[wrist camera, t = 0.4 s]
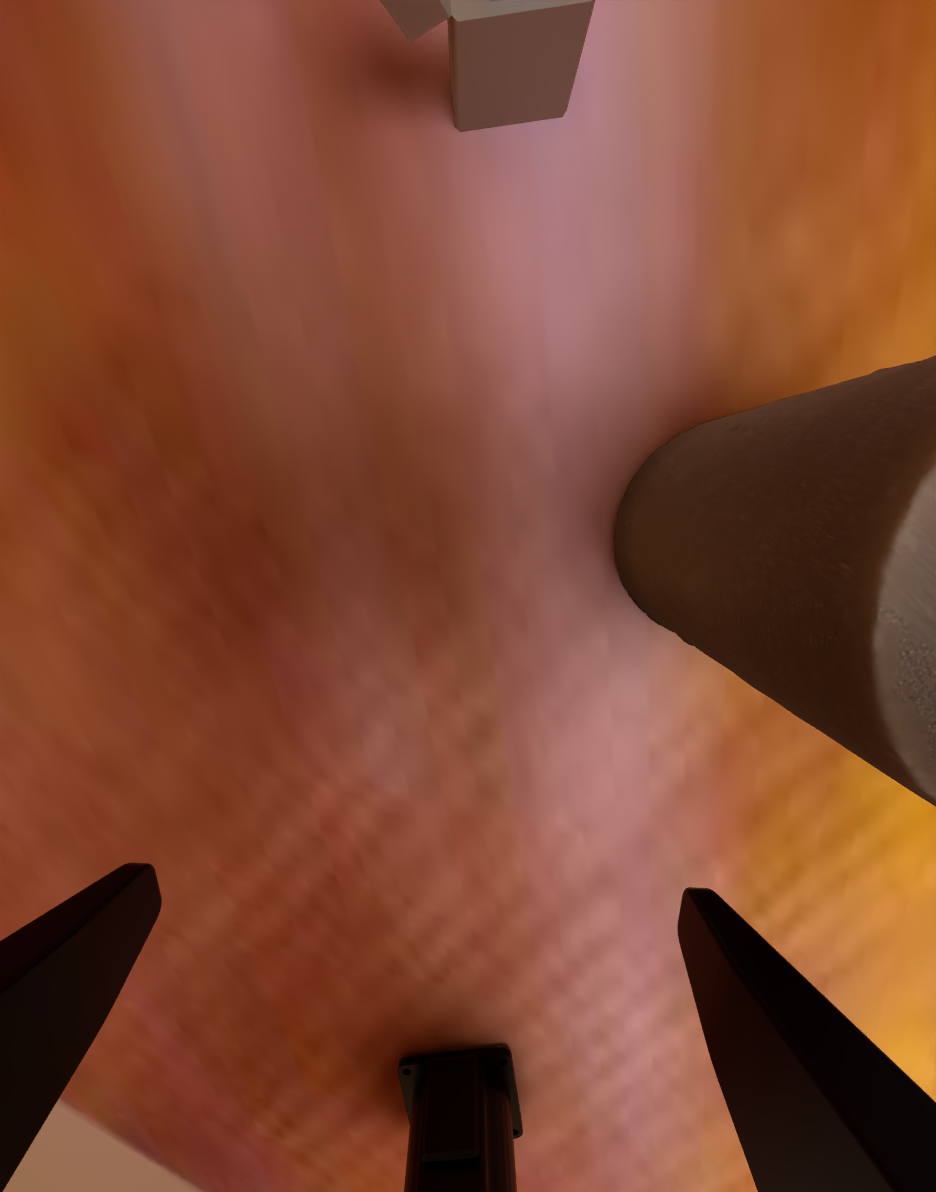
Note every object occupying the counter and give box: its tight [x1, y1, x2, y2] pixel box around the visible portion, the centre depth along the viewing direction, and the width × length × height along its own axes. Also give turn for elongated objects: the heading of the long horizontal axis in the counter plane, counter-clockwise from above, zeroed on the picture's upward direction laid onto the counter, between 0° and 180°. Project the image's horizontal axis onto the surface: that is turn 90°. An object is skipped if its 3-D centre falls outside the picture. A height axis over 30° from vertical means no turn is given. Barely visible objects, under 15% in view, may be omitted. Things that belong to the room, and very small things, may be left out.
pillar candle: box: [615, 355, 936, 806], centre depth 14 cm, size 10×10×15 cm
